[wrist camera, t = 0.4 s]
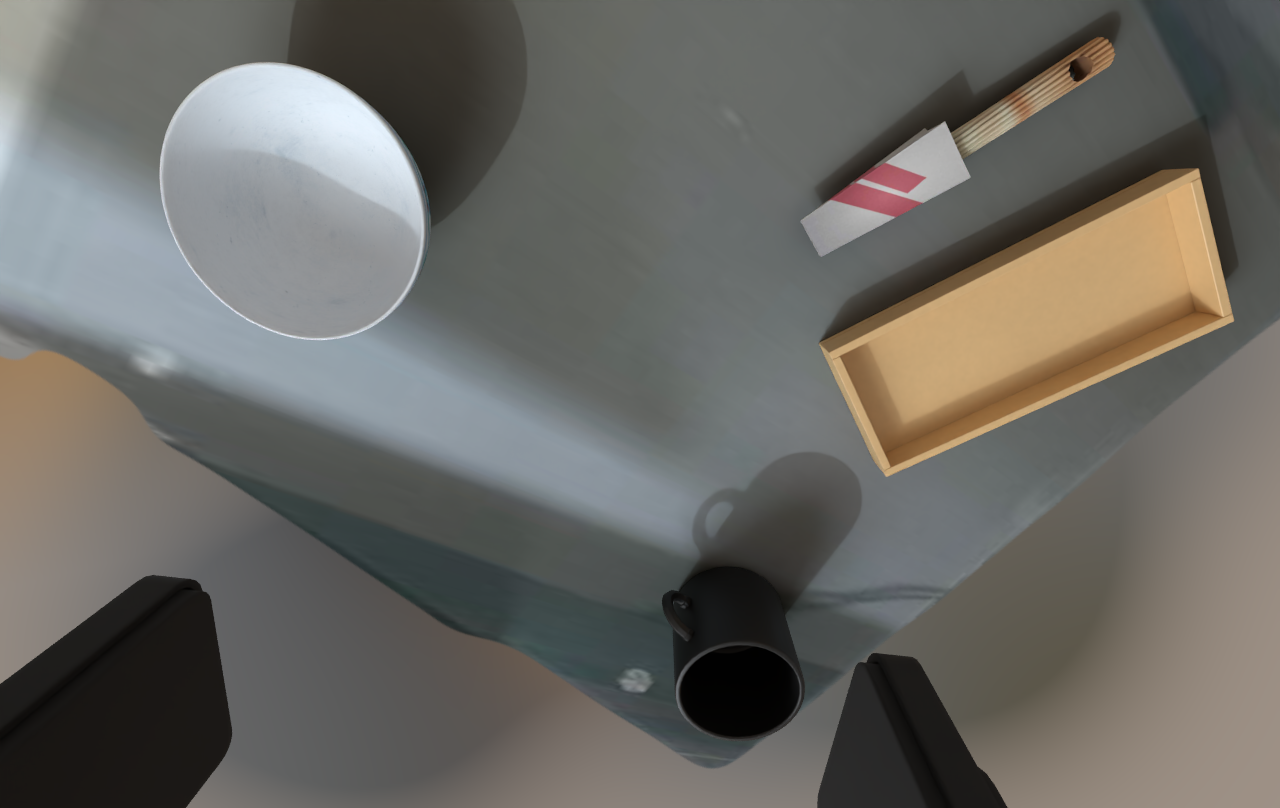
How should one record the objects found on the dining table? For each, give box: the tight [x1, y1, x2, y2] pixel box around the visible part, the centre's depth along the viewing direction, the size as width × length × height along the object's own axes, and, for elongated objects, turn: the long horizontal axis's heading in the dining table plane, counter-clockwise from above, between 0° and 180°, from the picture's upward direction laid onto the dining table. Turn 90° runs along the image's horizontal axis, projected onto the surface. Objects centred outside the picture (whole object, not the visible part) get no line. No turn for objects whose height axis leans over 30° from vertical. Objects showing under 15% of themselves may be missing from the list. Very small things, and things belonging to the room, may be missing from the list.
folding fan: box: [801, 37, 1115, 257], centre depth 38 cm, size 4×3×20 cm
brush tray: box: [819, 168, 1234, 476], centre depth 41 cm, size 11×24×3 cm, turn 119°
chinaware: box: [160, 62, 431, 340], centre depth 37 cm, size 15×15×8 cm
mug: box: [662, 567, 805, 741], centre depth 47 cm, size 9×12×9 cm
